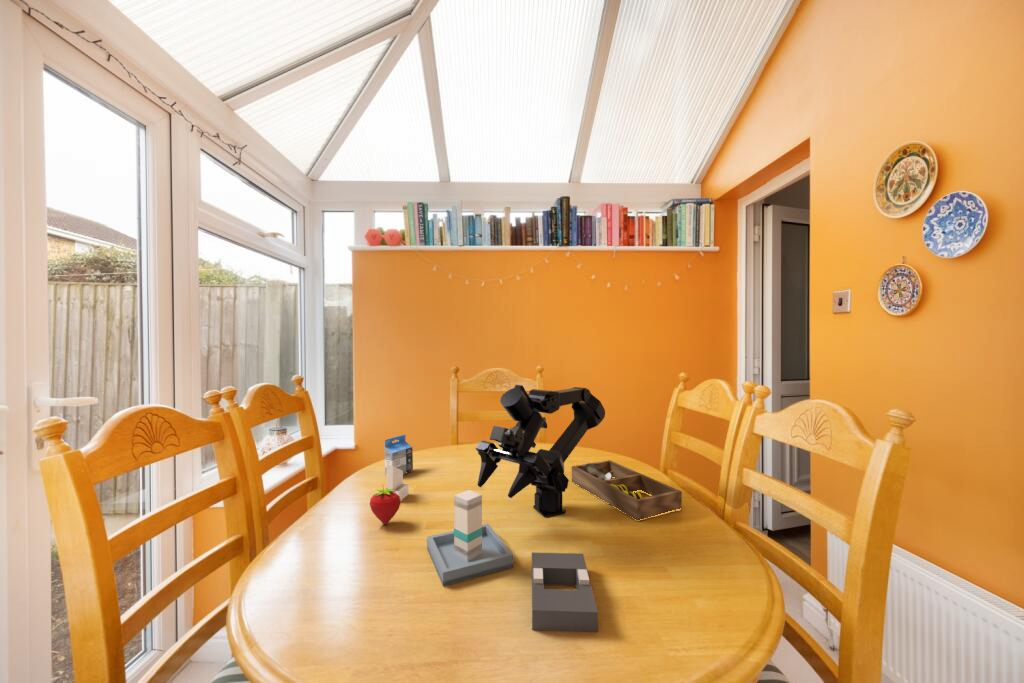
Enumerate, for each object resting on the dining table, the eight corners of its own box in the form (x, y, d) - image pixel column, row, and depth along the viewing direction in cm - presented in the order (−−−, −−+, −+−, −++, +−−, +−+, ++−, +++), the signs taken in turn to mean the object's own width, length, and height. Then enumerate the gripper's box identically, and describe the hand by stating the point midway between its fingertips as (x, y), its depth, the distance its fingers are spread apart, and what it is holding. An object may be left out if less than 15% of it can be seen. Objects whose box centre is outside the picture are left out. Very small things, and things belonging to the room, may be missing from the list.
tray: (488, 534, 87) (488, 523, 87) (513, 567, 74) (513, 554, 74) (427, 548, 81) (427, 536, 81) (443, 586, 68) (443, 572, 68)
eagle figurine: (610, 477, 120) (582, 470, 122) (615, 463, 116) (586, 456, 118) (609, 498, 114) (580, 491, 116) (615, 484, 110) (584, 476, 112)
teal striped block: (468, 546, 80) (468, 489, 81) (482, 553, 78) (482, 494, 78) (453, 554, 77) (453, 495, 77) (467, 561, 75) (467, 500, 75)
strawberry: (393, 531, 88) (393, 488, 88) (364, 528, 90) (364, 486, 90) (405, 519, 94) (405, 479, 94) (377, 517, 96) (377, 477, 96)
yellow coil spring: (644, 510, 99) (644, 491, 99) (628, 514, 97) (628, 495, 97) (620, 497, 108) (620, 479, 108) (605, 500, 106) (604, 482, 106)
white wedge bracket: (378, 499, 101) (386, 465, 105) (394, 504, 109) (401, 472, 114) (390, 500, 100) (398, 466, 104) (406, 505, 109) (413, 473, 113)
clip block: (531, 567, 74) (531, 548, 74) (583, 569, 74) (583, 549, 74) (532, 629, 58) (532, 604, 58) (598, 631, 58) (597, 606, 58)
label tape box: (392, 479, 122) (392, 441, 122) (384, 476, 125) (384, 439, 125) (413, 471, 130) (413, 435, 130) (405, 469, 132) (405, 434, 132)
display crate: (610, 475, 126) (609, 460, 126) (681, 510, 99) (681, 491, 99) (571, 482, 119) (571, 466, 119) (637, 521, 93) (637, 501, 93)
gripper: (481, 407, 94) (446, 463, 85) (542, 417, 82) (508, 482, 73) (502, 433, 100) (471, 488, 91) (562, 446, 87) (533, 510, 79)
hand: (493, 491), depth 83 cm, fingers open, 9 cm apart
